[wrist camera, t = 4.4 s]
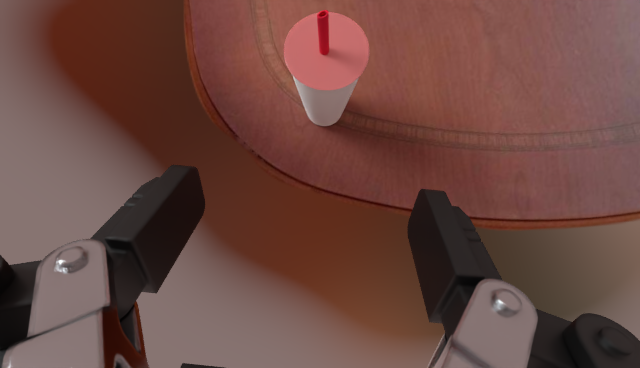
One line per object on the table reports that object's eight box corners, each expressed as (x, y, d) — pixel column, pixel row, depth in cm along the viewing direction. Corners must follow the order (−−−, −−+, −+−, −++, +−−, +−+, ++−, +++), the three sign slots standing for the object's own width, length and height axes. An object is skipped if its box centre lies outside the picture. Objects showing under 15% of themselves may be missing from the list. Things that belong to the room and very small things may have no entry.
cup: (285, 100, 27) (257, -2, 15) (333, 72, 27) (343, -49, 15) (315, 147, 26) (311, 79, 14) (363, 117, 26) (400, 28, 15)
